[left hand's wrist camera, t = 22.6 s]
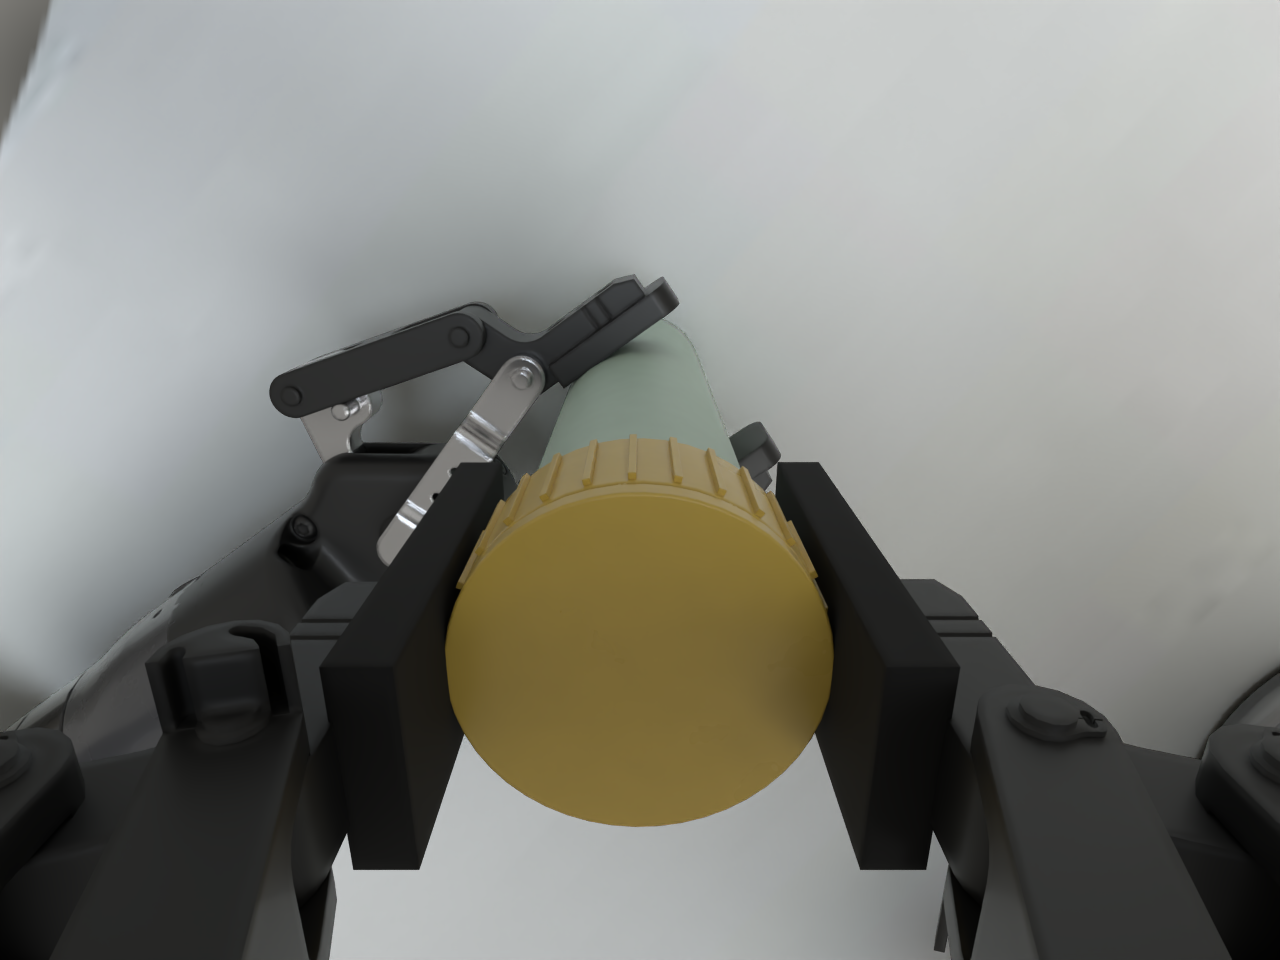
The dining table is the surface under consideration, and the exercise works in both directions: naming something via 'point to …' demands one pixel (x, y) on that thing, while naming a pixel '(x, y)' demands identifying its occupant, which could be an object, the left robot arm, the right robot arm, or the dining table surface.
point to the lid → (639, 636)
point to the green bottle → (643, 398)
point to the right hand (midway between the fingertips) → (719, 367)
